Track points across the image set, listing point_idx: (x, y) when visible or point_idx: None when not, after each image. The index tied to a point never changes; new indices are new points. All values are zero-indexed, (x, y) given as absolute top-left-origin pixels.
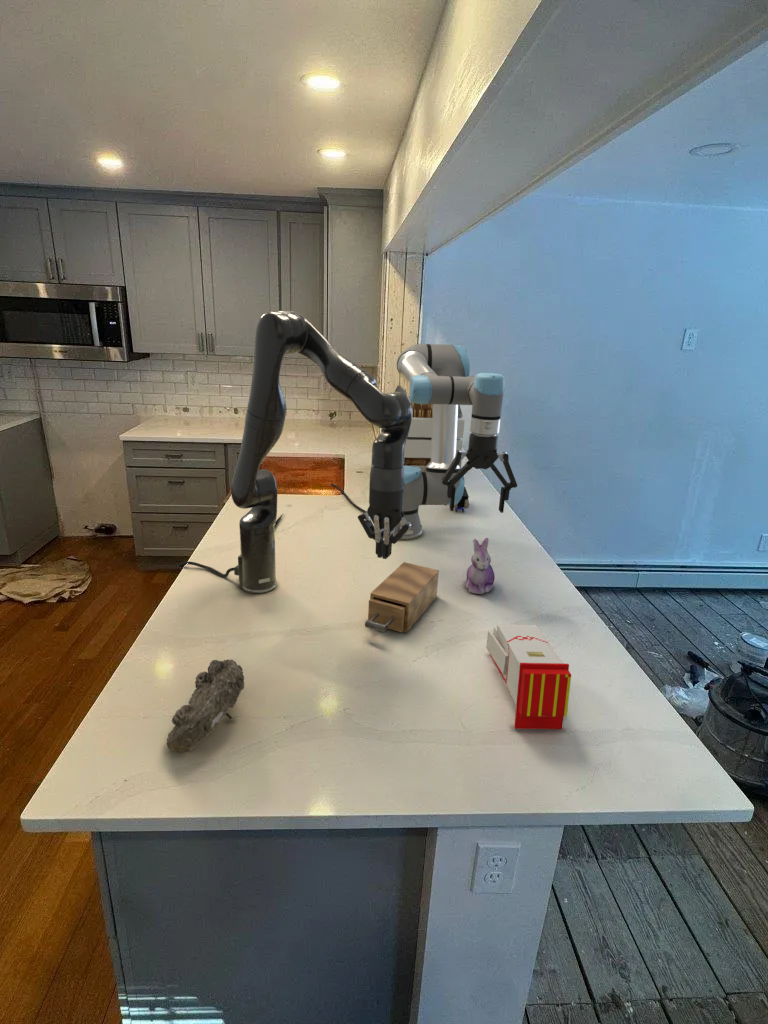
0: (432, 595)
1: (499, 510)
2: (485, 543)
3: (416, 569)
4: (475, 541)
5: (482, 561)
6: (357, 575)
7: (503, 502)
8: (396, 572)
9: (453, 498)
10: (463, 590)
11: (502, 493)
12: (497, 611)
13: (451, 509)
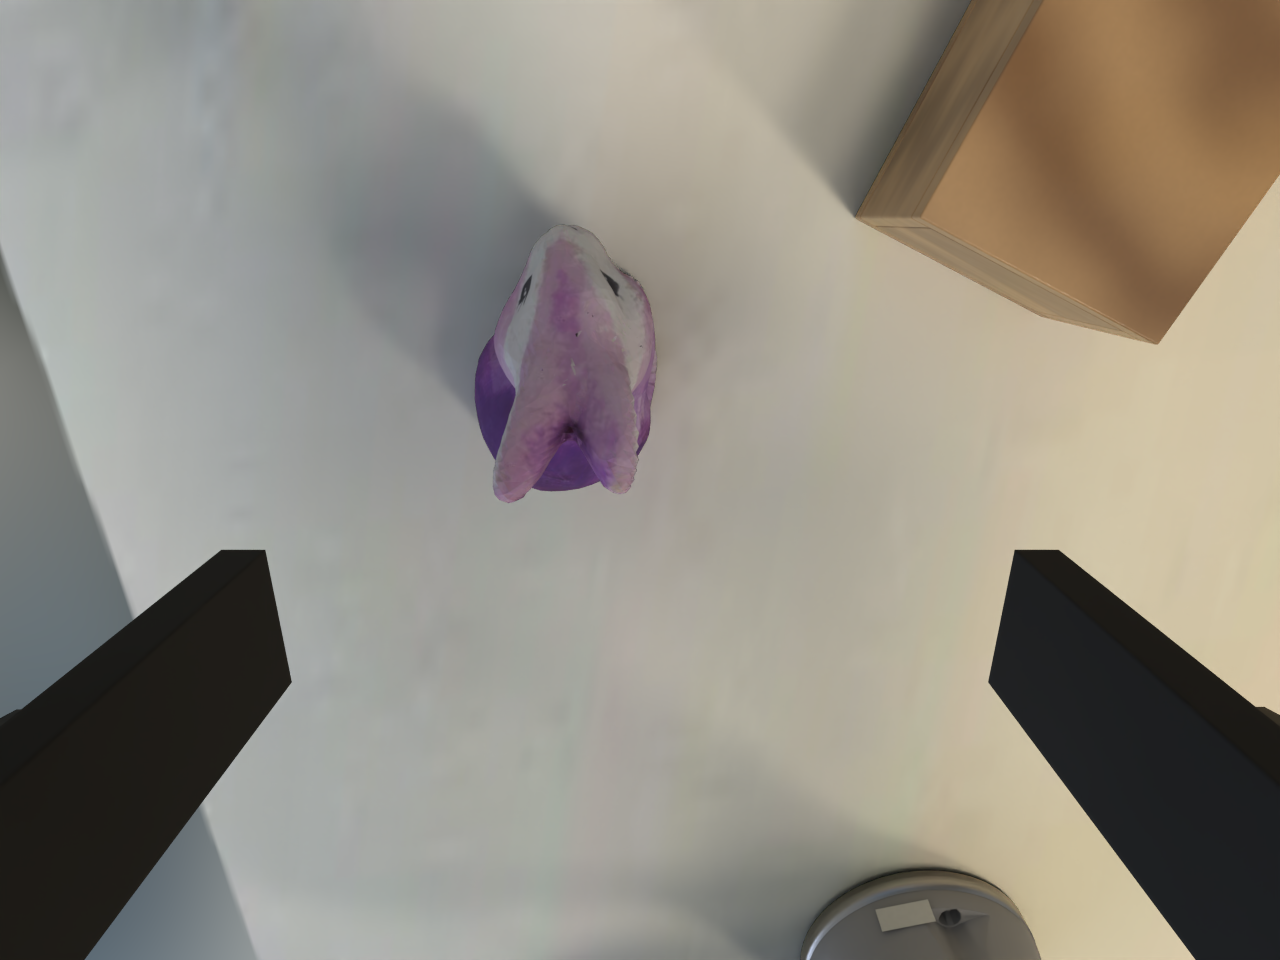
0: (916, 128)
1: (277, 627)
2: (527, 415)
3: (1096, 213)
4: (621, 431)
5: (575, 246)
6: (1271, 454)
7: (120, 648)
8: (1276, 138)
9: (1176, 674)
10: (675, 315)
11: (13, 812)
12: (500, 43)
13: (1061, 557)
